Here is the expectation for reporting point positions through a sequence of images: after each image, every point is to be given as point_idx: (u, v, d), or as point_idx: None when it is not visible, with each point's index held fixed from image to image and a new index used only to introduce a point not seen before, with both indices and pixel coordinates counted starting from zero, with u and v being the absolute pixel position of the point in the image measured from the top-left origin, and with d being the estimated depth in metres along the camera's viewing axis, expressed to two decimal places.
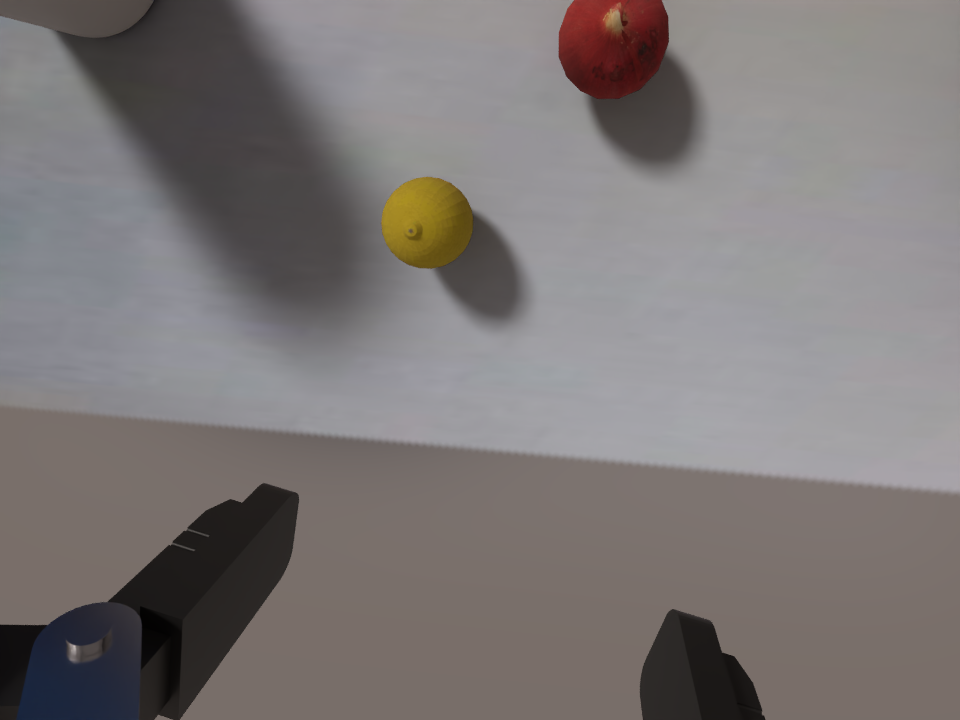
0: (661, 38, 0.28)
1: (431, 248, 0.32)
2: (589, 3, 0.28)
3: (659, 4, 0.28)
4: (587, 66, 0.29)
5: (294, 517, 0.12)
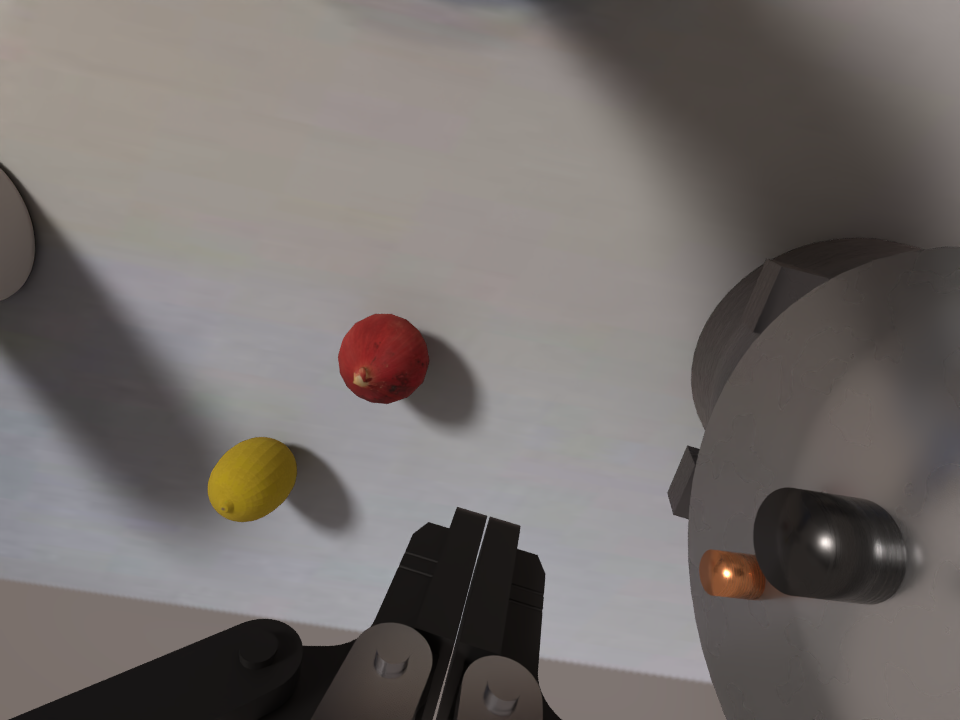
0: (412, 374, 0.35)
1: (245, 516, 0.38)
2: (348, 352, 0.34)
3: (406, 351, 0.34)
4: (354, 393, 0.35)
5: None
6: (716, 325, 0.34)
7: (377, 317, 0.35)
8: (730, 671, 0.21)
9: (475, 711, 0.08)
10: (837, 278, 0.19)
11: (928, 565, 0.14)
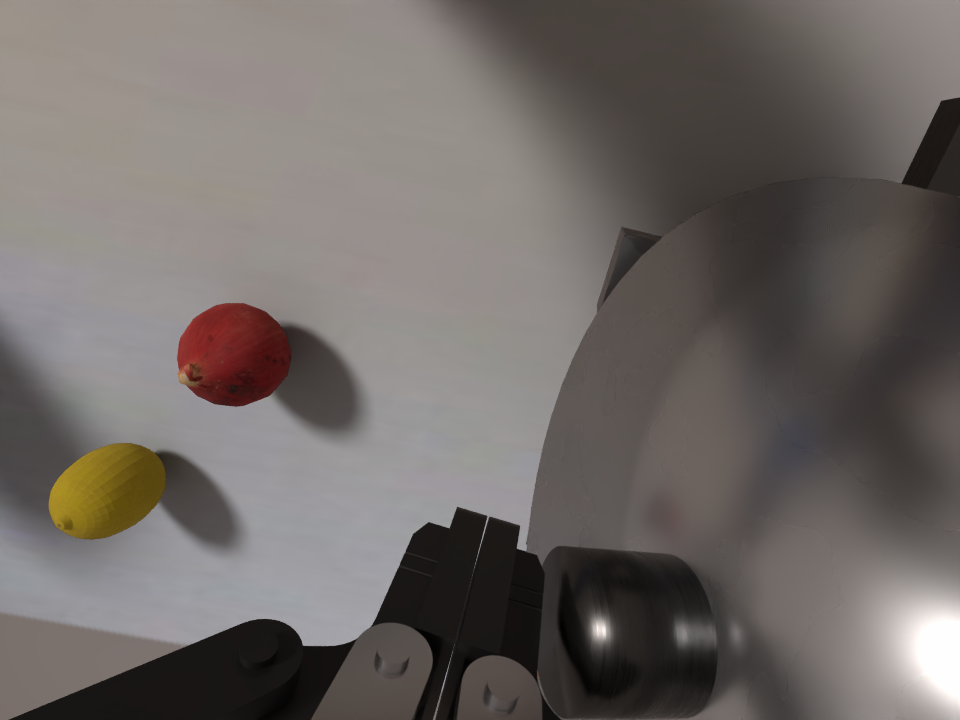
0: (259, 372, 0.30)
1: (88, 533, 0.34)
2: (181, 347, 0.29)
3: (249, 345, 0.29)
4: None
5: None
6: None
7: (222, 306, 0.30)
8: None
9: (475, 711, 0.08)
10: (661, 242, 0.14)
11: (740, 674, 0.09)
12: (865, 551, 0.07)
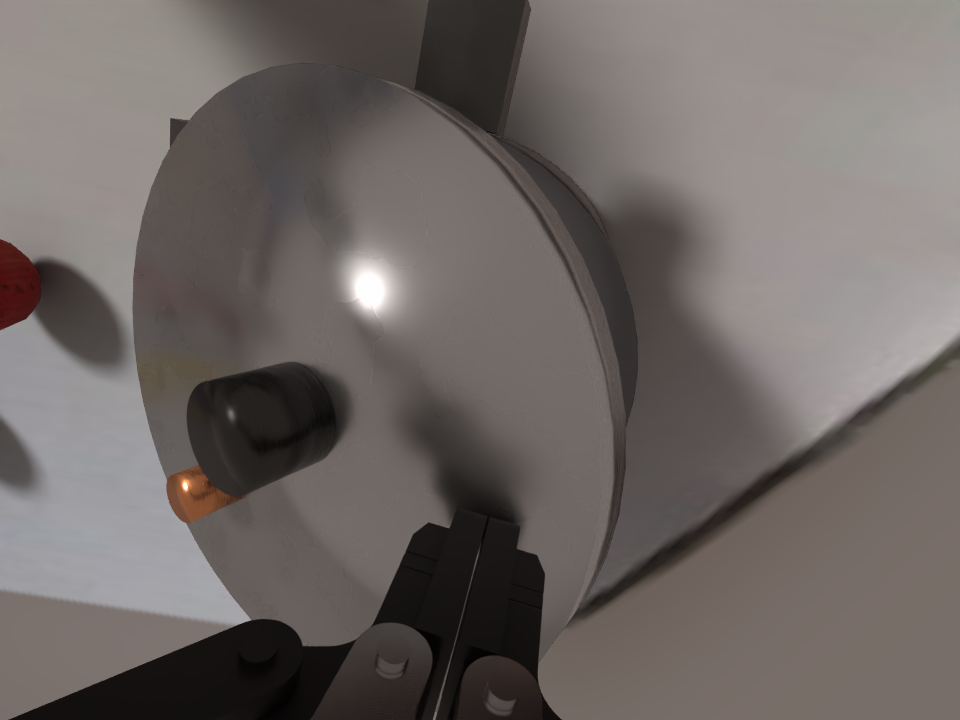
0: None
1: None
2: None
3: None
4: None
5: None
6: None
7: None
8: (243, 578, 0.19)
9: (475, 711, 0.08)
10: (193, 119, 0.16)
11: (347, 405, 0.15)
12: (388, 296, 0.13)
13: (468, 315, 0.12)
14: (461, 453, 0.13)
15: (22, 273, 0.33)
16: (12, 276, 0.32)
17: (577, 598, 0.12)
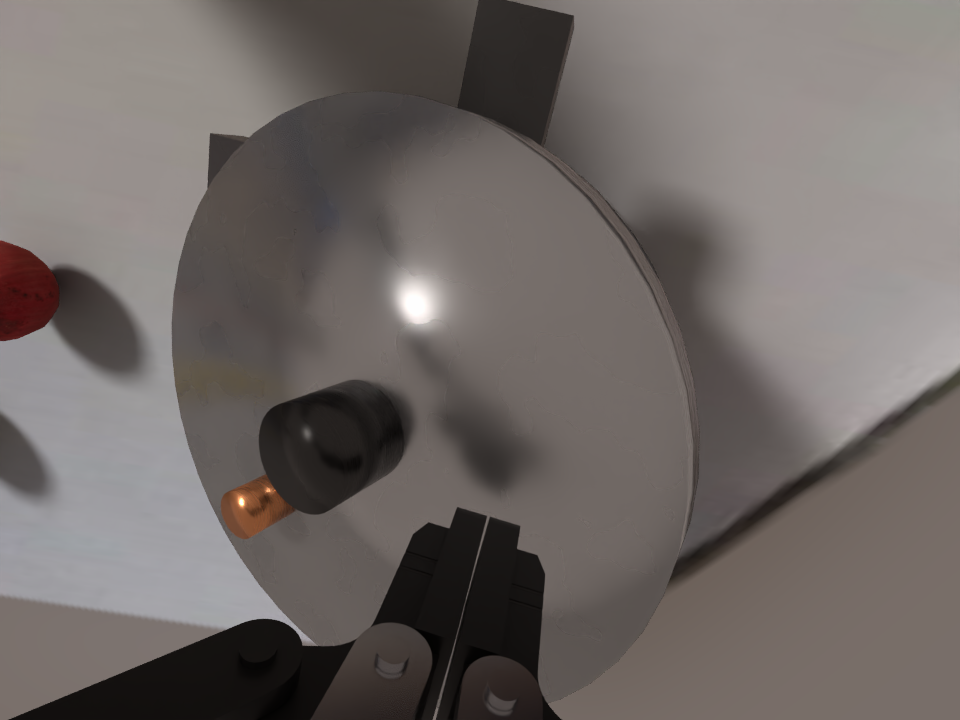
0: (4, 304, 0.31)
1: None
2: None
3: None
4: None
5: None
6: None
7: None
8: (292, 590, 0.19)
9: (475, 711, 0.08)
10: (251, 140, 0.16)
11: (418, 422, 0.15)
12: (466, 318, 0.14)
13: (553, 338, 0.12)
14: (541, 467, 0.13)
15: (42, 281, 0.32)
16: (32, 284, 0.32)
17: (658, 602, 0.13)
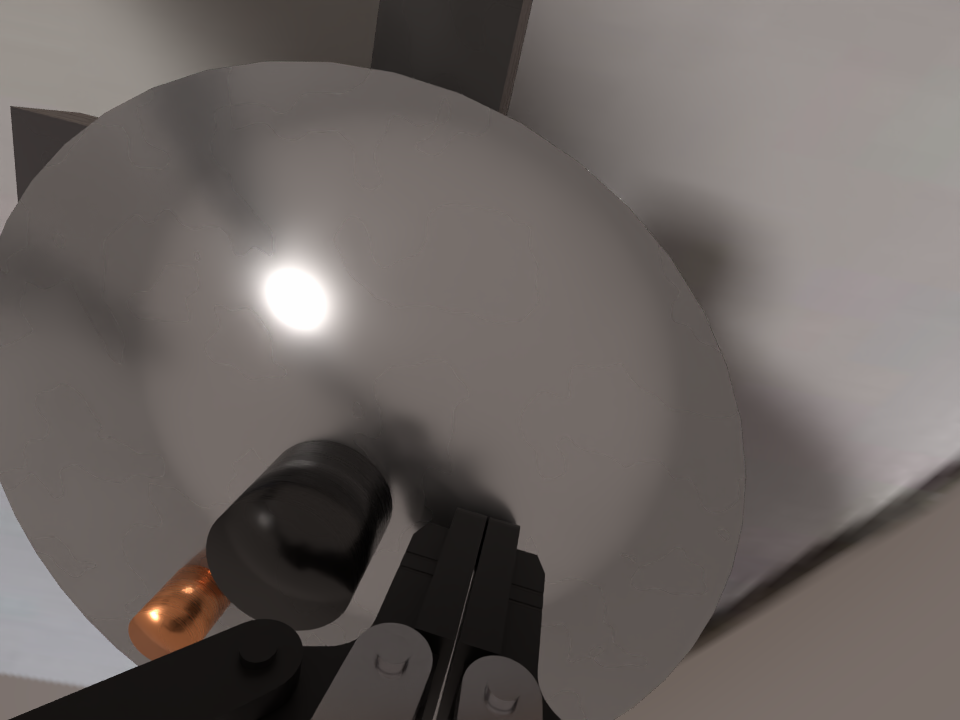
0: None
1: None
2: None
3: None
4: None
5: None
6: None
7: None
8: None
9: (475, 711, 0.08)
10: (100, 124, 0.11)
11: (411, 480, 0.12)
12: (475, 355, 0.11)
13: (592, 370, 0.11)
14: (577, 510, 0.12)
15: None
16: None
17: (708, 618, 0.12)
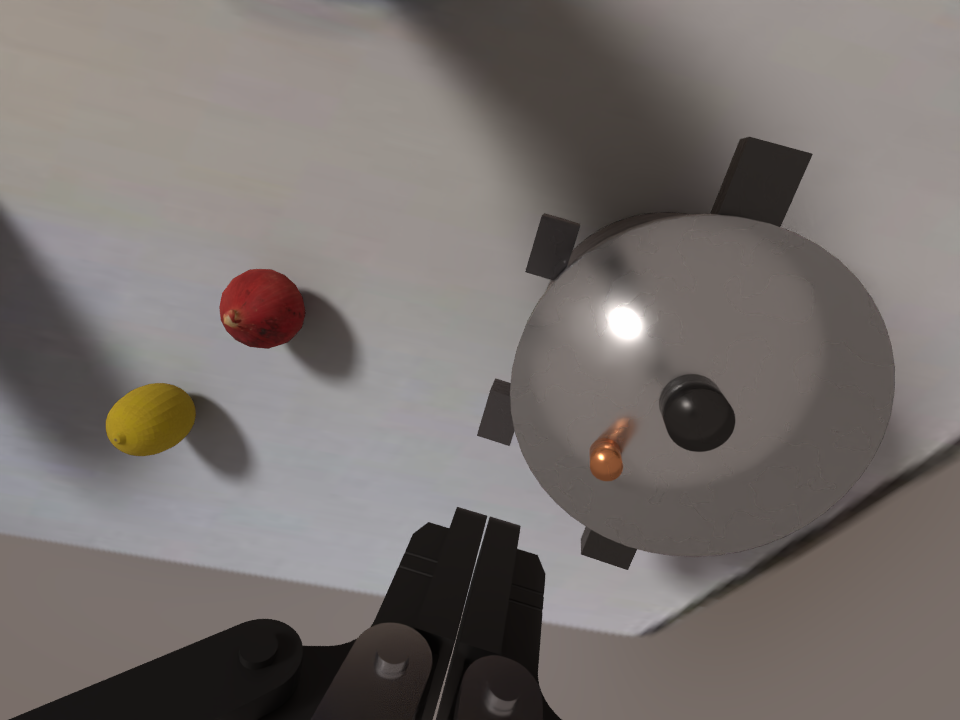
0: (282, 320, 0.39)
1: (137, 449, 0.43)
2: (225, 298, 0.39)
3: (276, 299, 0.39)
4: (232, 336, 0.40)
5: None
6: None
7: (255, 270, 0.40)
8: (605, 513, 0.30)
9: (475, 711, 0.08)
10: (629, 234, 0.26)
11: (734, 394, 0.27)
12: (778, 336, 0.26)
13: (831, 344, 0.25)
14: (813, 408, 0.27)
15: (301, 302, 0.41)
16: (297, 305, 0.40)
17: (868, 462, 0.27)
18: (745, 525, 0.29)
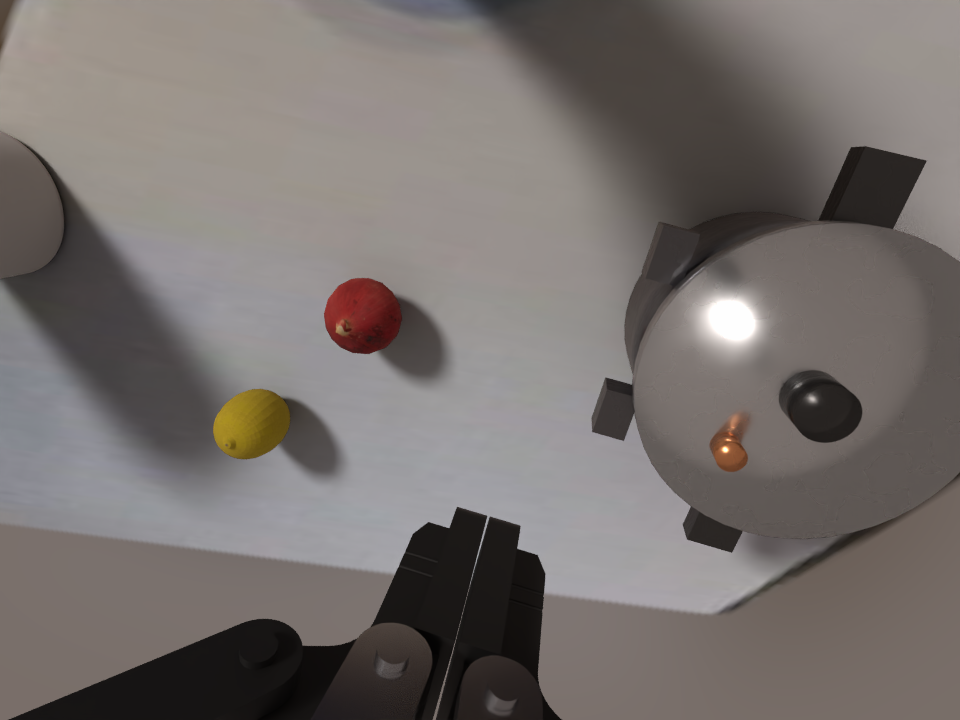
0: (386, 327, 0.41)
1: (245, 452, 0.45)
2: (332, 308, 0.41)
3: (381, 307, 0.41)
4: (337, 343, 0.42)
5: None
6: (640, 286, 0.41)
7: (357, 280, 0.42)
8: (721, 501, 0.32)
9: (475, 711, 0.08)
10: (757, 242, 0.27)
11: (852, 387, 0.29)
12: (897, 333, 0.28)
13: (947, 339, 0.27)
14: (928, 398, 0.28)
15: (399, 309, 0.43)
16: (397, 311, 0.42)
17: None
18: (857, 508, 0.31)
